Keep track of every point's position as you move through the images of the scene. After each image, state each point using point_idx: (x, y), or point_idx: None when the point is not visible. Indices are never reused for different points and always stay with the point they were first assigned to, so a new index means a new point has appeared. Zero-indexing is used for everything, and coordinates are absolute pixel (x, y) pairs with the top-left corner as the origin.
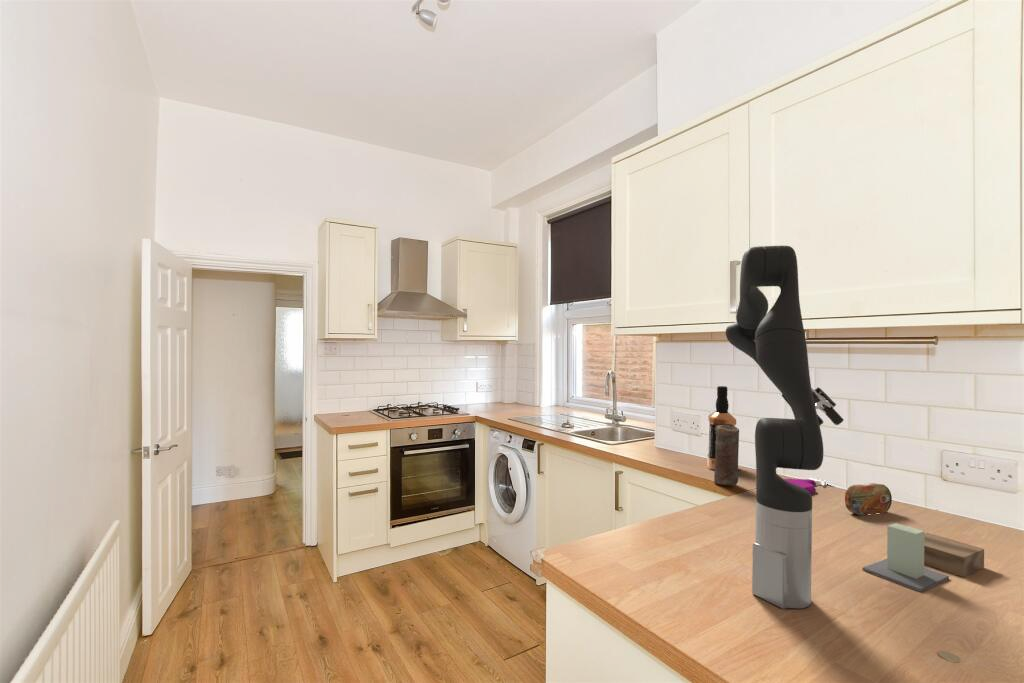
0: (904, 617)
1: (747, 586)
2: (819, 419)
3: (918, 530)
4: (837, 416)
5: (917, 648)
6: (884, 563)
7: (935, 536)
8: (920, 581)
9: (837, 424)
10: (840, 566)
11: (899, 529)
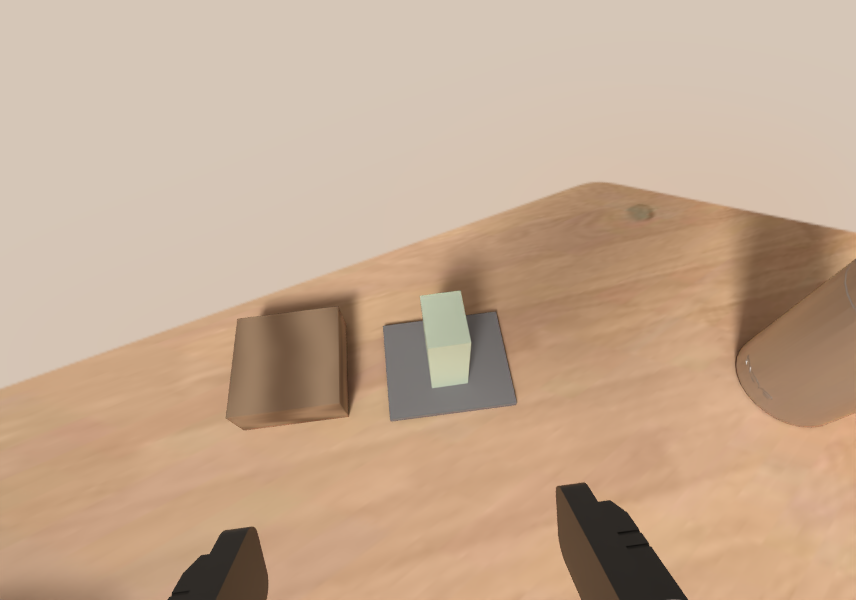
0: (609, 276)
1: (847, 432)
2: (594, 502)
3: (428, 302)
4: (236, 573)
5: (666, 230)
6: (445, 401)
7: (240, 394)
8: None
9: (265, 573)
10: (548, 435)
11: (466, 320)
